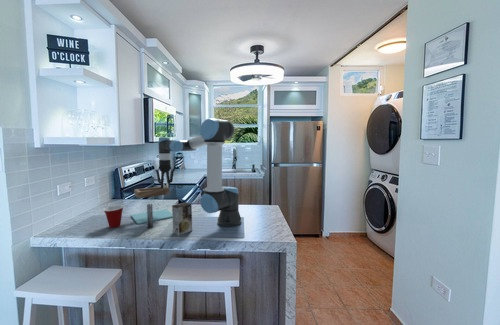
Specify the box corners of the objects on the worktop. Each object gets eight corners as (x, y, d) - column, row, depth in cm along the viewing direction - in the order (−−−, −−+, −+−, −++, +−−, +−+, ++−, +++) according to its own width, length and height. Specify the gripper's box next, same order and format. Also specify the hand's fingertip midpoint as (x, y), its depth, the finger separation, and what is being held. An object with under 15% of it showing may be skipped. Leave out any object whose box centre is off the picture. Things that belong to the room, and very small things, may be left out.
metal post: (153, 227, 142) (152, 204, 141) (148, 228, 140) (147, 205, 139) (152, 226, 145) (151, 203, 143) (147, 227, 143) (146, 204, 142)
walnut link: (169, 194, 164) (169, 188, 163) (138, 198, 151) (137, 192, 151) (164, 191, 171) (164, 186, 171) (134, 195, 159) (134, 189, 159)
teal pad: (175, 217, 162) (175, 215, 162) (137, 224, 147) (137, 222, 147) (165, 210, 178) (165, 209, 178) (130, 216, 163) (130, 214, 163)
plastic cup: (106, 224, 147) (105, 205, 146) (125, 222, 151) (124, 204, 150) (102, 230, 137) (101, 210, 136) (123, 228, 141) (122, 208, 140)
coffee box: (185, 228, 142) (185, 201, 140) (192, 230, 138) (192, 203, 136) (172, 232, 135) (171, 205, 133) (179, 235, 131) (178, 207, 129)
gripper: (173, 158, 172) (174, 190, 174) (151, 159, 163) (152, 193, 165) (177, 159, 166) (177, 192, 168) (155, 160, 157) (156, 195, 159)
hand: (165, 192), depth 167 cm, fingers closed on walnut link, 2 cm apart
